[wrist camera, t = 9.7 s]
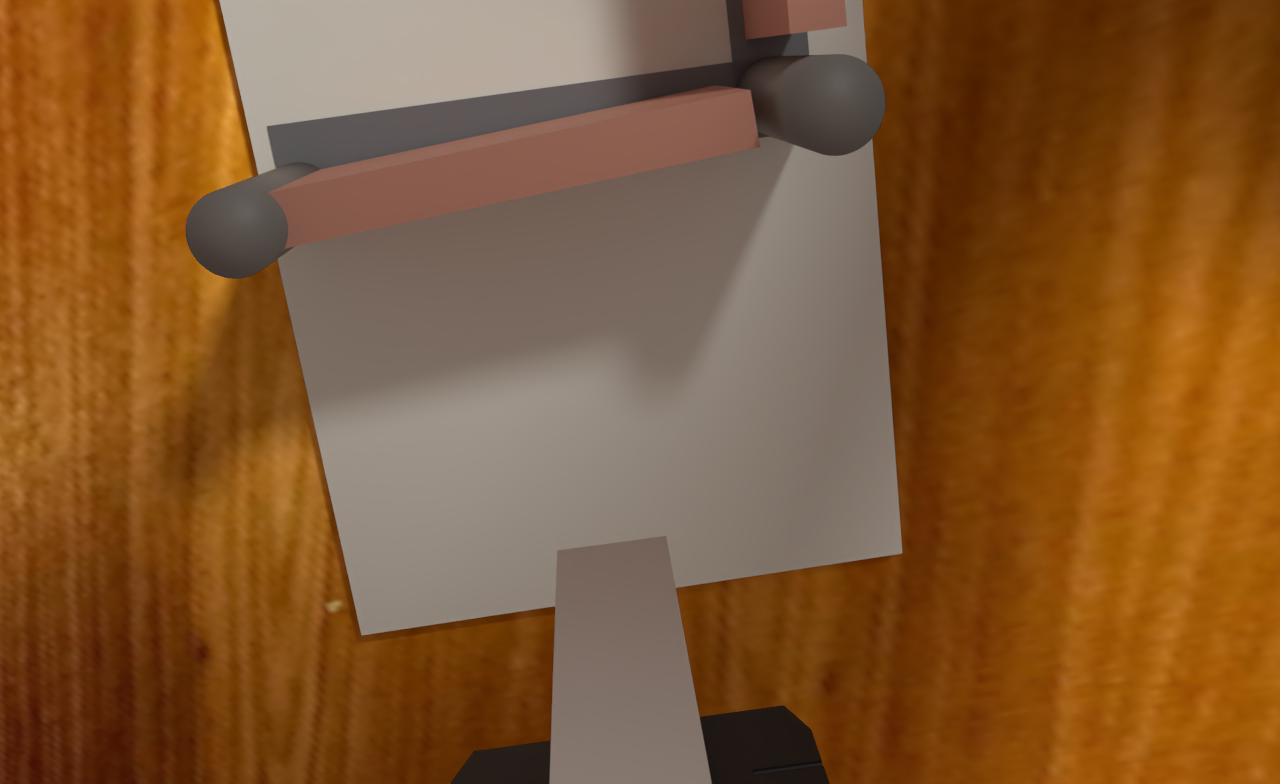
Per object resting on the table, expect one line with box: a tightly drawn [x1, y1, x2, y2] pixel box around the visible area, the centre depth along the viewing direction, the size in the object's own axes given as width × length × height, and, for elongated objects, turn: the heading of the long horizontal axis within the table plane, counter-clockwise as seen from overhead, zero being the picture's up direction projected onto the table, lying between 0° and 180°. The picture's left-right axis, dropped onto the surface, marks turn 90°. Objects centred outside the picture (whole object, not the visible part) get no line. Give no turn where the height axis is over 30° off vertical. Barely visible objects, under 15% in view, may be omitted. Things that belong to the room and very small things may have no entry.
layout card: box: [219, 0, 902, 636], centre depth 30 cm, size 29×16×1 cm, turn 8°
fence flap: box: [186, 85, 760, 278], centre depth 26 cm, size 12×2×7 cm, turn 102°
